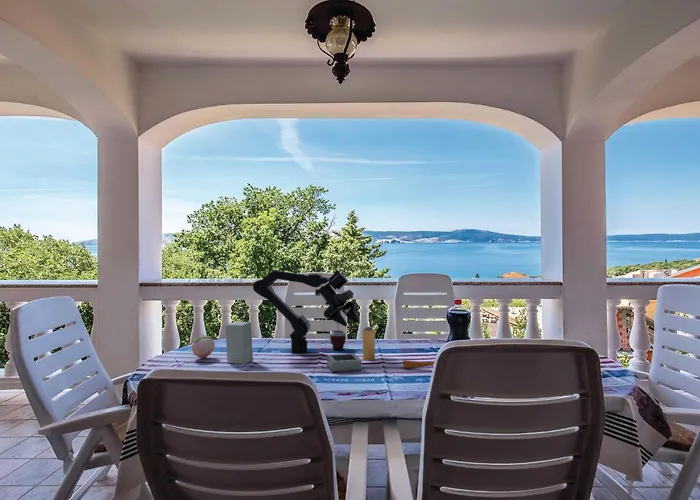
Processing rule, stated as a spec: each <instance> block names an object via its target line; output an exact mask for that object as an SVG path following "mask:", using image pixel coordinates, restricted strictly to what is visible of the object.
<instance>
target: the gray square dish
mask: <svg viewBox="0 0 700 500" xmlns="http://www.w3.org/2000/svg"><path fill="white" fill-rule="evenodd" d="M326 366H327V367H328V369H329V370H330V372H331V373H332V374H337V373H338V374H340V373H351V372H352V373H354V372H362V359H361V358H360V357H359V356H358V355H357V354H356V353H339V354H326Z"/></svg>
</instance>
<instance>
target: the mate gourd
mask: <svg viewBox="0 0 700 500" xmlns="http://www.w3.org/2000/svg"><path fill="white" fill-rule="evenodd" d="M336 327H337V330H333V331H331V333H330V335H329V340H330V343H331V345H332V350H333V351H337V350H339V351H344V345H345V343H346V340H347V339H346V332H345V331H344V330H340V329H339V323H338V322H336Z"/></svg>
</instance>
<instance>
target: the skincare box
mask: <svg viewBox="0 0 700 500" xmlns="http://www.w3.org/2000/svg"><path fill="white" fill-rule="evenodd" d="M252 333H253V332H252V322H250V321H233V322H229V323H227V324H225V340H226V341H225V342H226V344H225V345H226V359H227V362H226V363H227V364H239V365H246V364H247V363H250V362H253V359H254V356H253V355H254V354H253V337H252Z"/></svg>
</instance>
